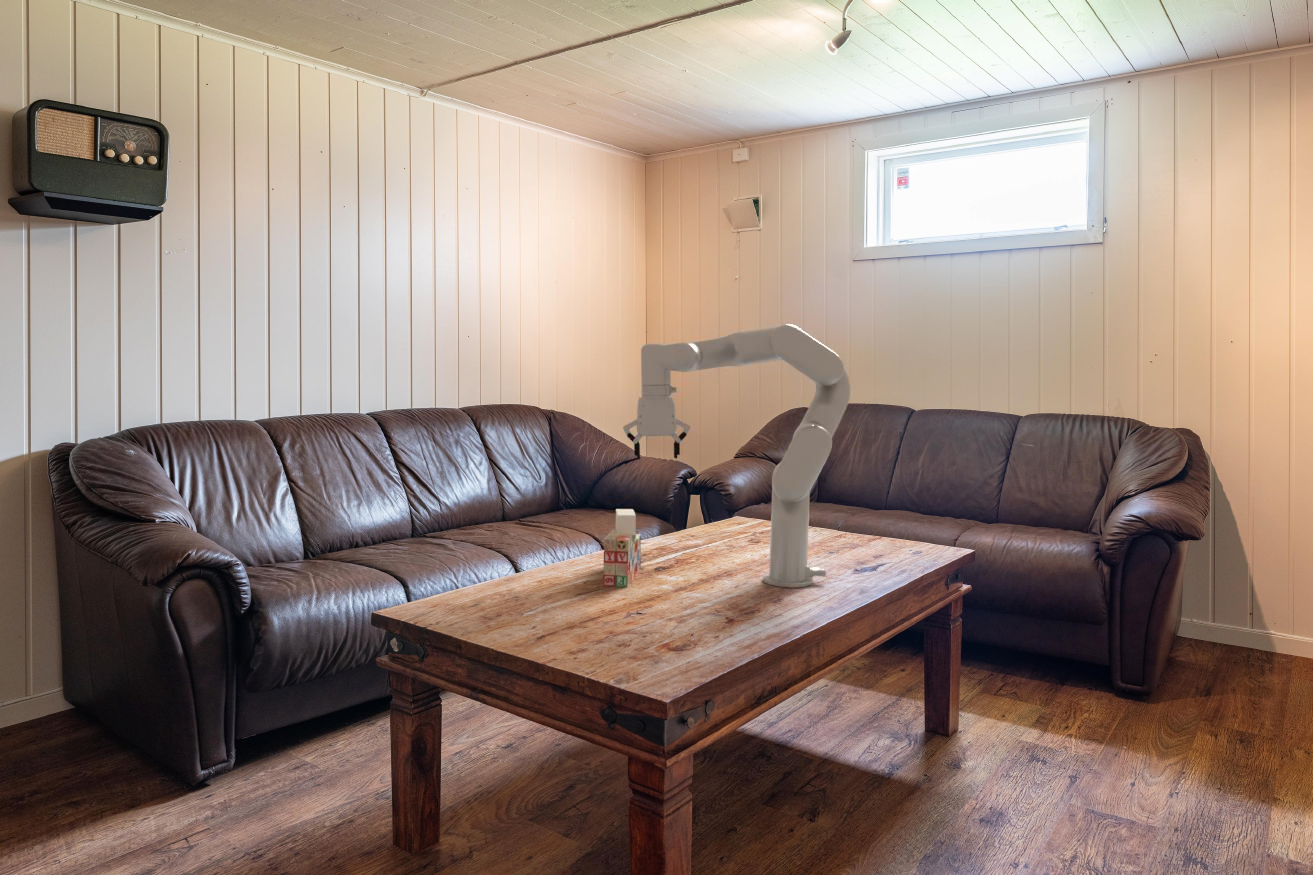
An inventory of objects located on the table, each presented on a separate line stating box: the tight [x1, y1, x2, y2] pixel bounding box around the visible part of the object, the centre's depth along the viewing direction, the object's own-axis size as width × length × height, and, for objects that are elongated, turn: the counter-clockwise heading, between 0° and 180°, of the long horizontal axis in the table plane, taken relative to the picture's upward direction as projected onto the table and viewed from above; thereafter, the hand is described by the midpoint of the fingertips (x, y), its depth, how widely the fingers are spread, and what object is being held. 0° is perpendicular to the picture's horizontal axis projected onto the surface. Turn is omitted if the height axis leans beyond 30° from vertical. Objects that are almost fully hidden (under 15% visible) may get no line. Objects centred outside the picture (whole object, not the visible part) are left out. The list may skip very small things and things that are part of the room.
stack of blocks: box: [602, 528, 642, 588], centre depth 226 cm, size 21×6×12 cm, turn 172°
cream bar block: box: [615, 508, 637, 535], centre depth 223 cm, size 4×9×5 cm, turn 6°
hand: (657, 458), depth 225 cm, fingers open, 9 cm apart
